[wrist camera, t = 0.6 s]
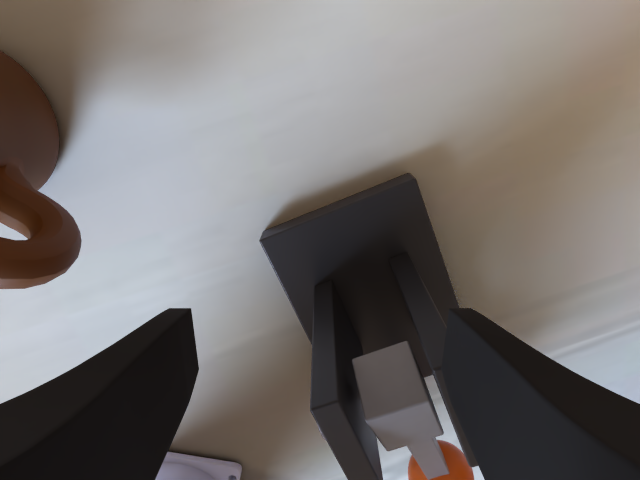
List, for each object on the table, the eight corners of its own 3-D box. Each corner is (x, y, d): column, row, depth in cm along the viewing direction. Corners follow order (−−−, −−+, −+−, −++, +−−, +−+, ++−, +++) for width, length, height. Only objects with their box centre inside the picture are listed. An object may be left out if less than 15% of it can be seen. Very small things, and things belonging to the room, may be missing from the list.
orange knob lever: (462, 445, 22) (488, 511, 20) (407, 461, 23) (426, 528, 20) (417, 325, 15) (450, 408, 12) (336, 353, 15) (352, 439, 13)
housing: (468, 345, 23) (563, 512, 14) (340, 388, 25) (352, 568, 15) (409, 172, 20) (485, 246, 11) (262, 230, 21) (217, 344, 12)
